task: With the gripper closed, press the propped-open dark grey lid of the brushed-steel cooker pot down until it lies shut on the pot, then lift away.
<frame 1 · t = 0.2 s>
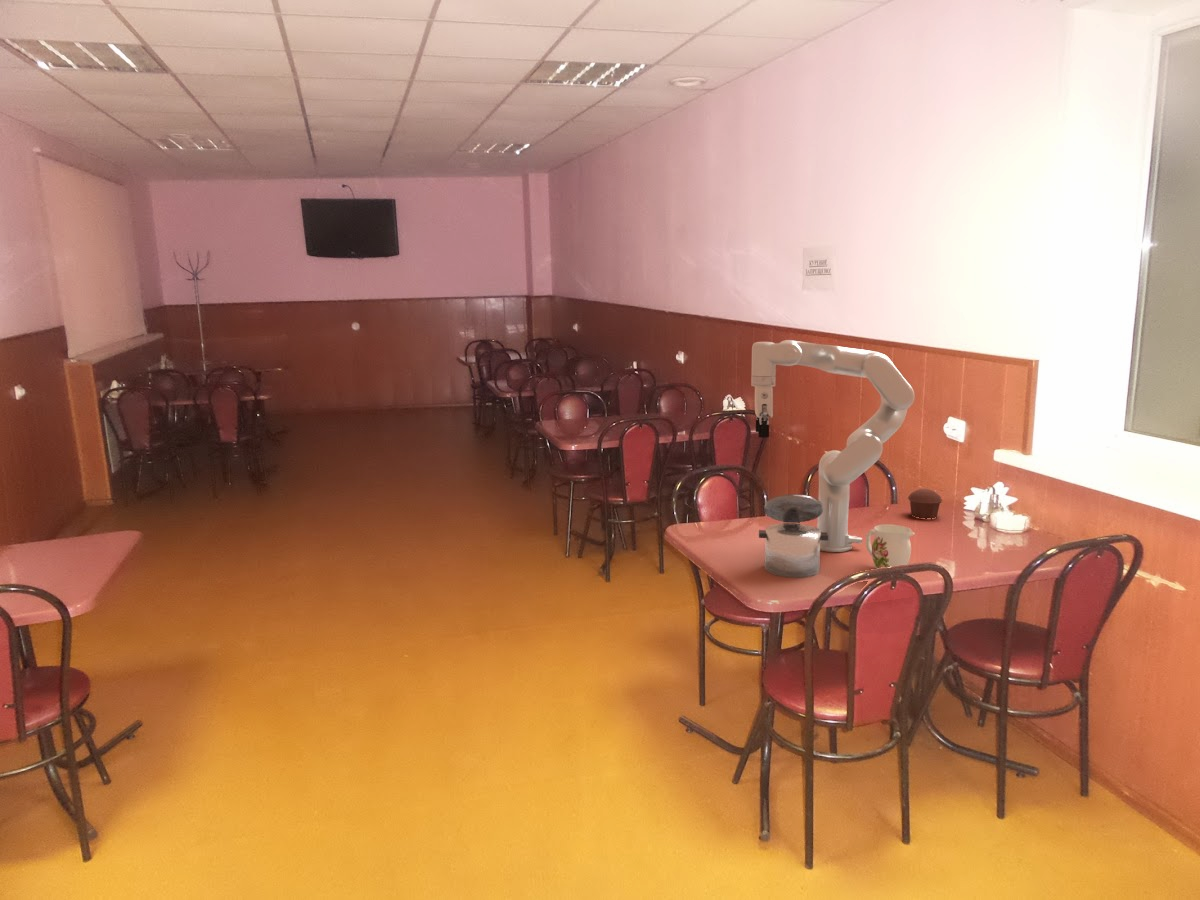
hand: (762, 434, 276), 37 cm above the table, tool pointing down, fingers open, 9 cm apart
lid: (793, 506, 258), point 19 cm above the table, hinge at 40.0°
muffin: (923, 517, 315), on the table
cooker pot: (791, 568, 259), on the table
pitcher: (887, 571, 256), on the table
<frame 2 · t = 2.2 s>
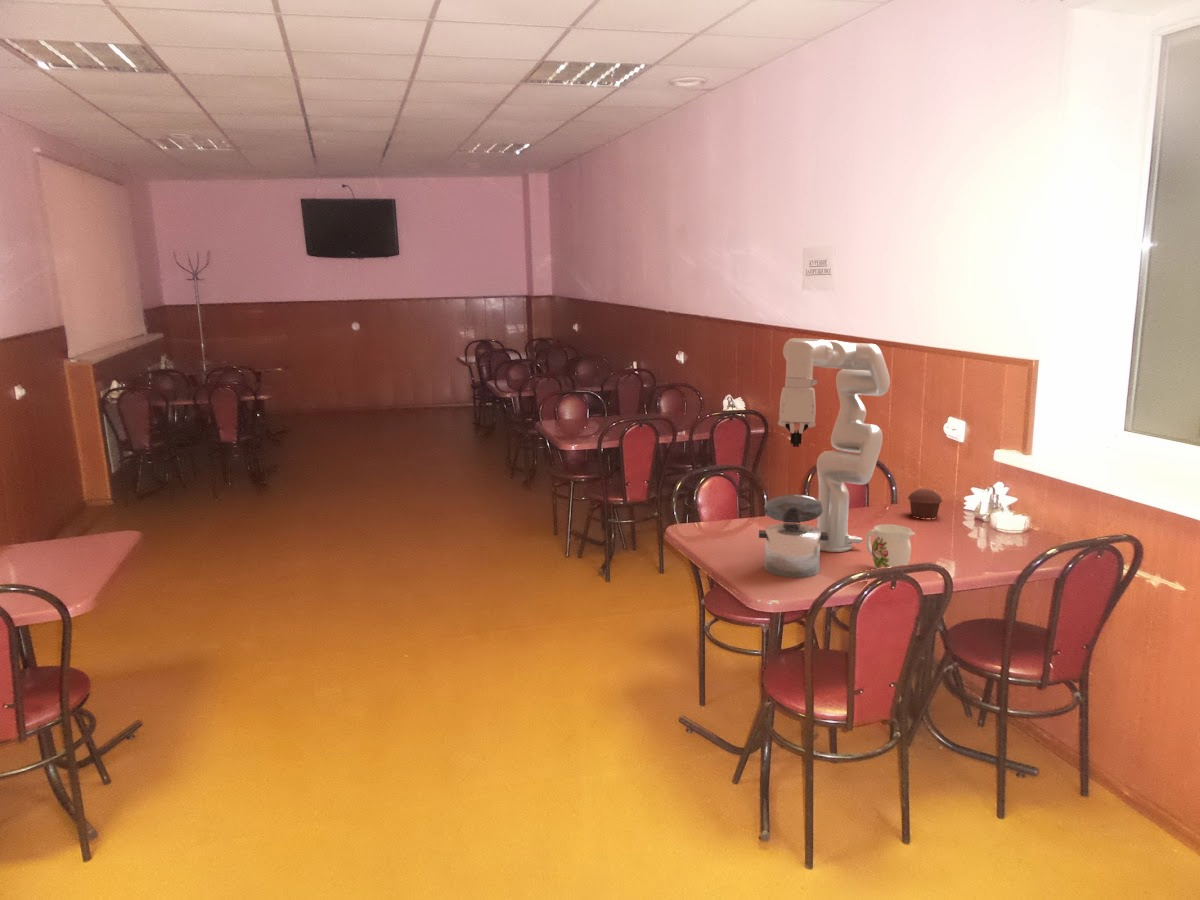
hand: (795, 446, 251), 38 cm above the table, tool pointing down, fingers closed
nothing on the table moved.
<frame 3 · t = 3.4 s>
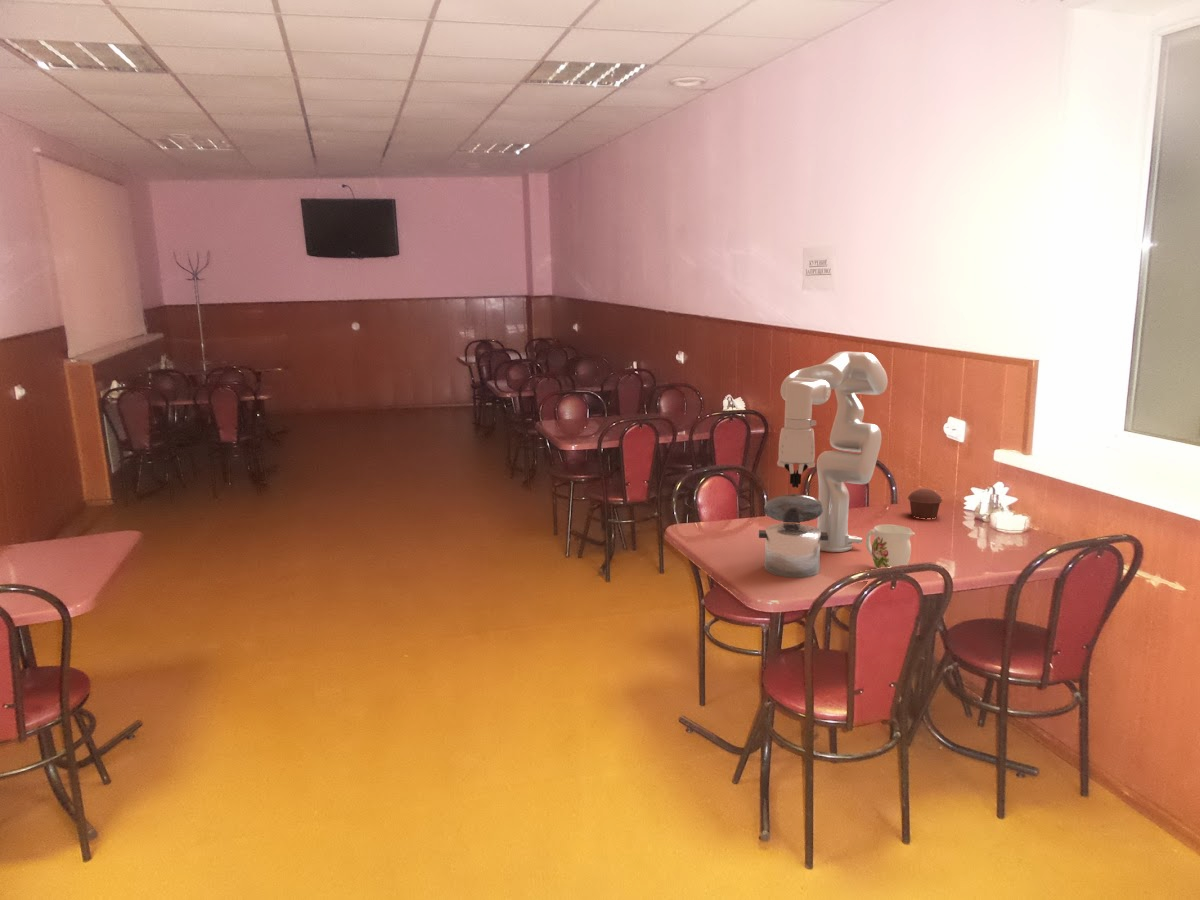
hand: (795, 486, 251), 26 cm above the table, tool pointing down, fingers closed
nothing on the table moved.
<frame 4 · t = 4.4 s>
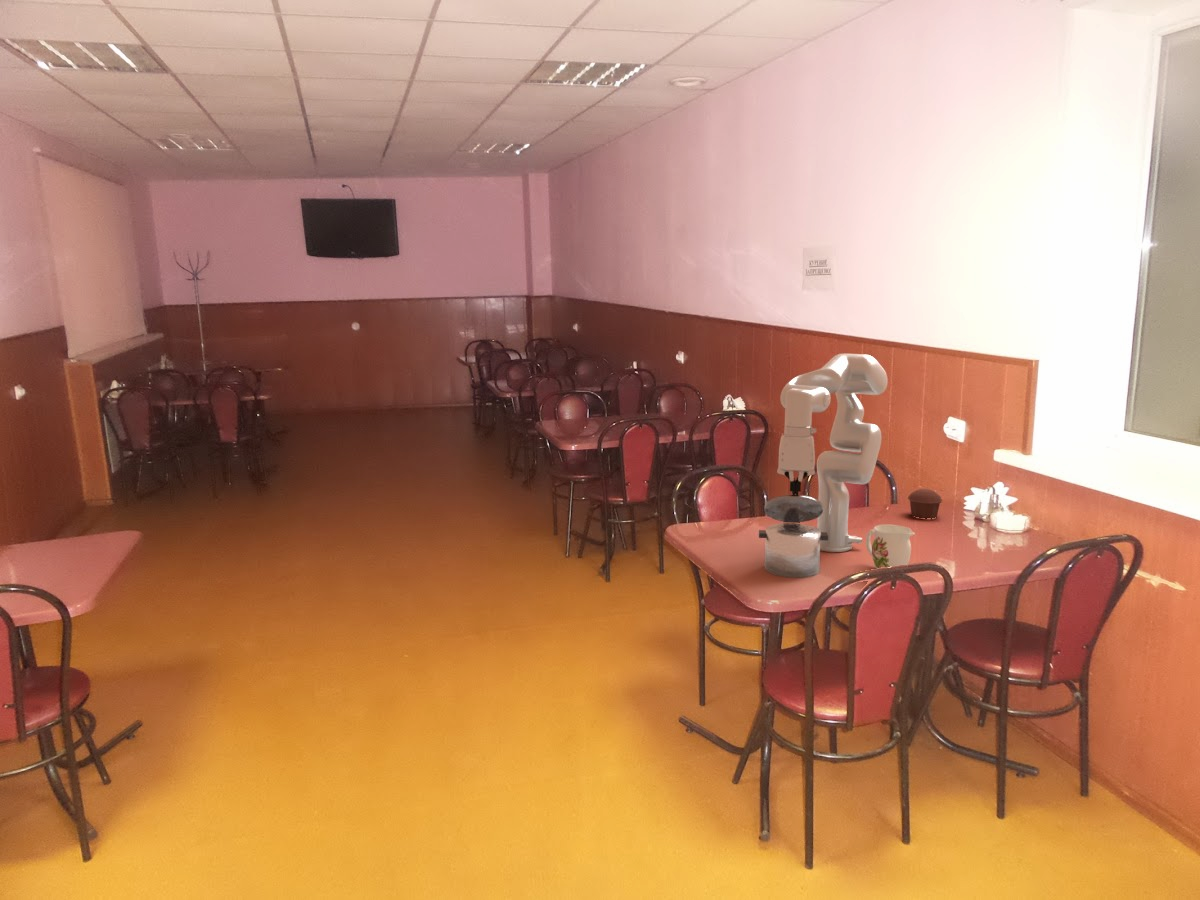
hand: (795, 493, 251), 24 cm above the table, tool pointing down, fingers closed
lid: (793, 506, 258), point 19 cm above the table, hinge at 39.6°, touching gripper
everything else where it was.
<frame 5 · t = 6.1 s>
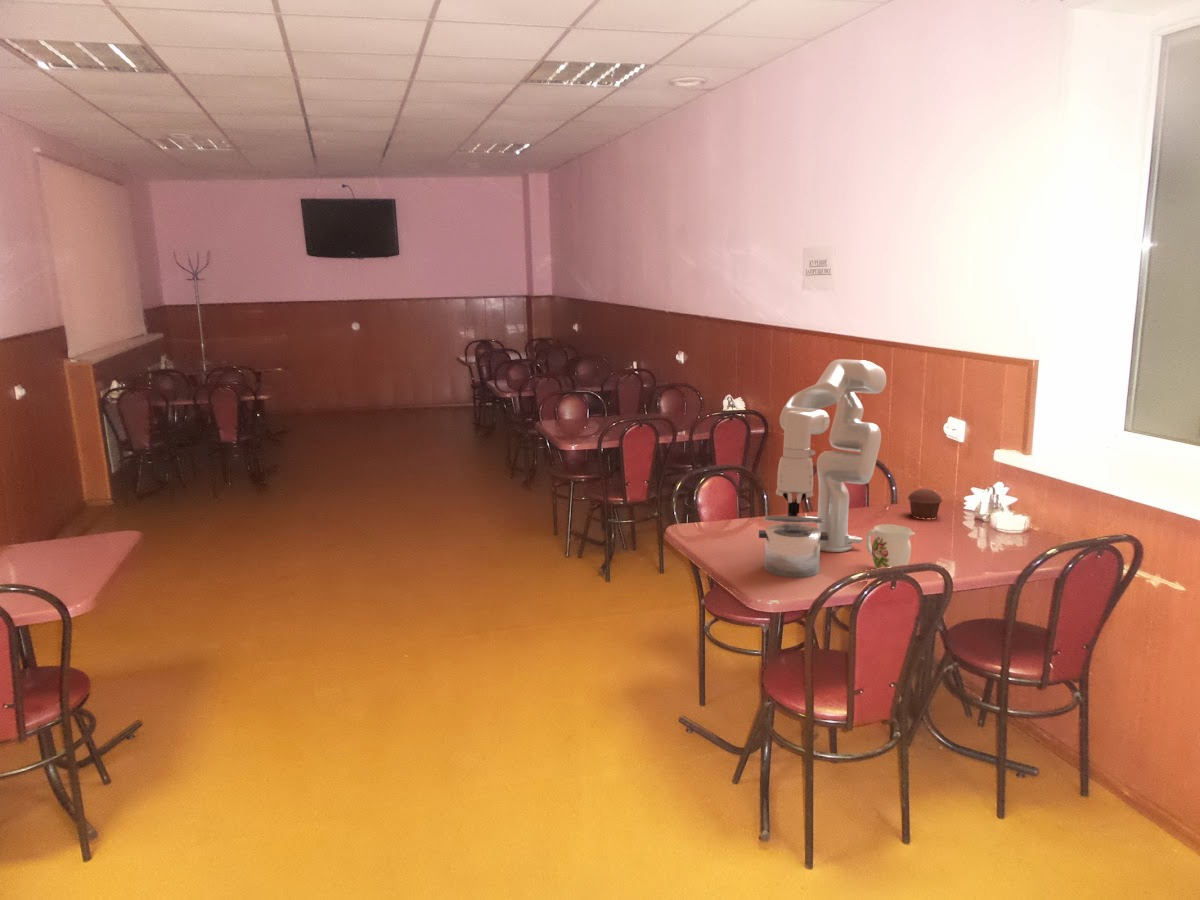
hand: (793, 515, 252), 18 cm above the table, tool pointing down, fingers closed
lid: (793, 516, 256), point 16 cm above the table, hinge at 17.7°, touching gripper
everything else where it was.
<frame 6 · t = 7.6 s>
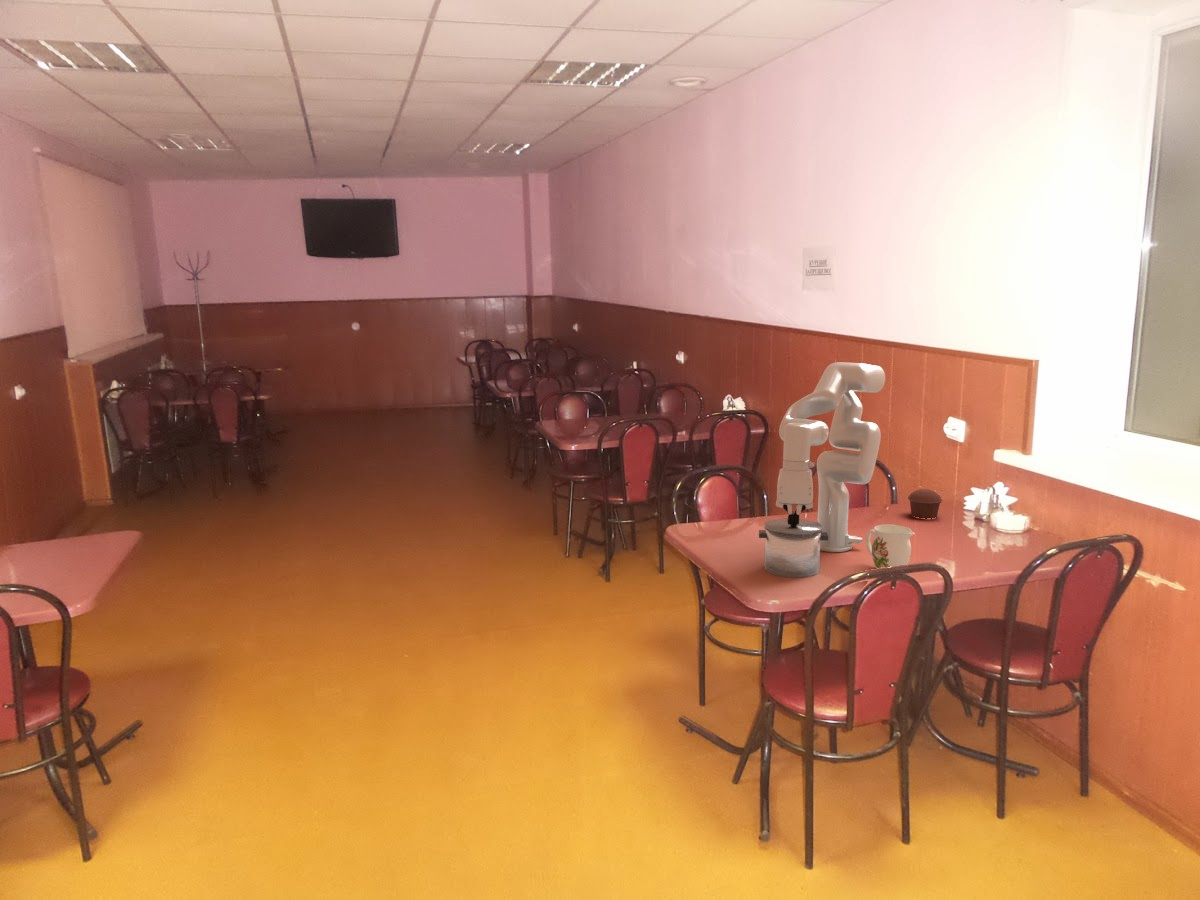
hand: (793, 526, 253), 14 cm above the table, tool pointing down, fingers closed
lid: (793, 523, 256), point 14 cm above the table, hinge at 3.3°, touching gripper
everything else where it was.
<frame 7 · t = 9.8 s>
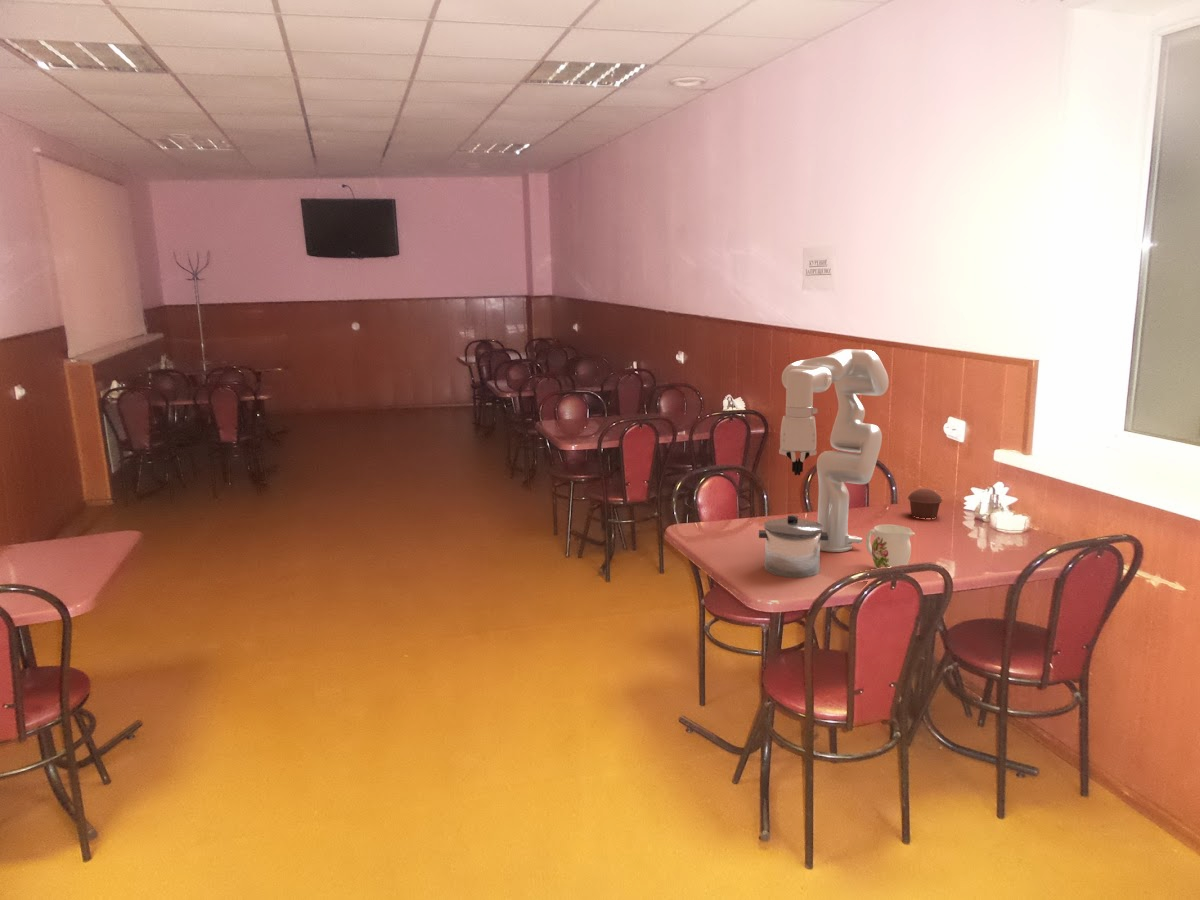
hand: (797, 474, 252), 30 cm above the table, tool pointing down, fingers closed
lid: (793, 523, 256), point 14 cm above the table, hinge at 3.1°
everything else where it was.
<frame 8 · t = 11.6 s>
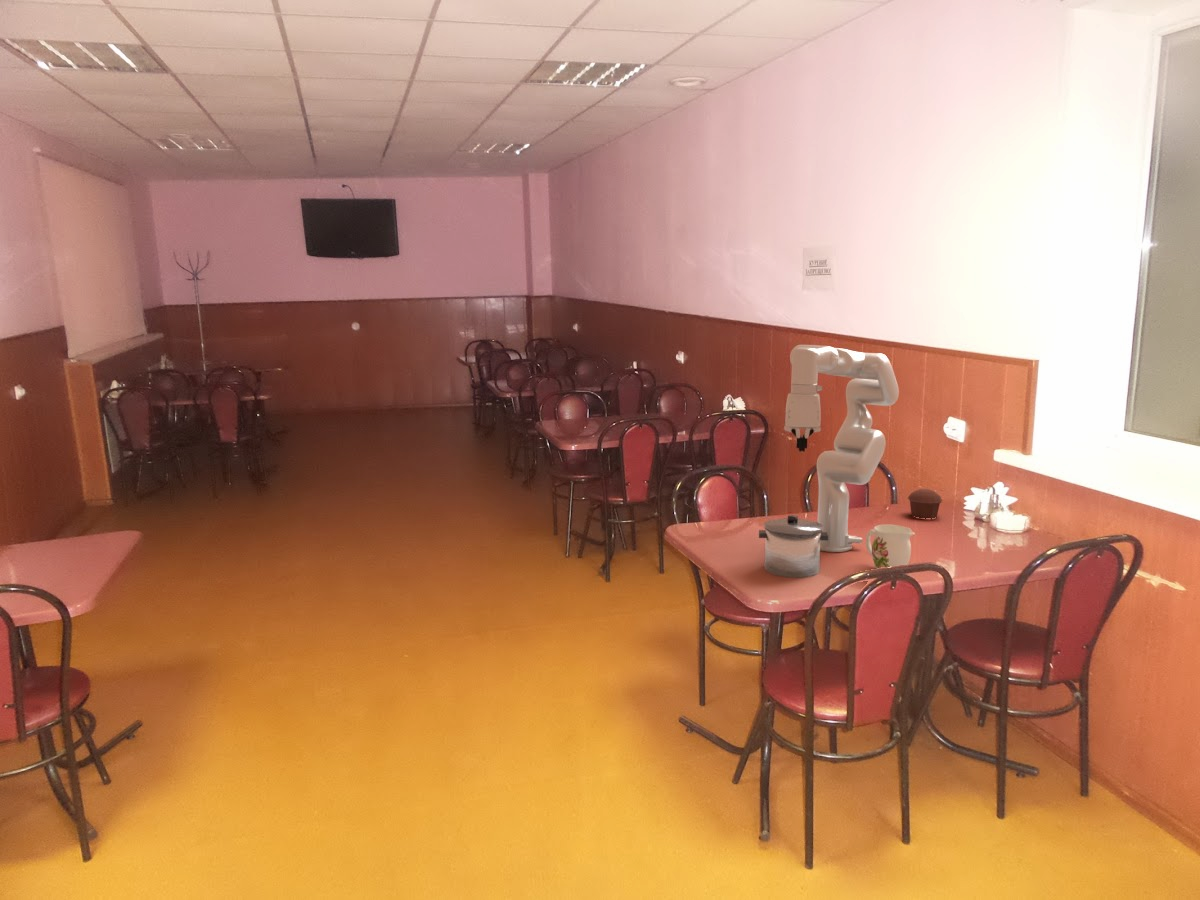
hand: (801, 450, 258), 35 cm above the table, tool pointing down, fingers closed
nothing on the table moved.
at the end: lid at +3° (first picture: +40°); pitcher moved 0.2 cm from its start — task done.
